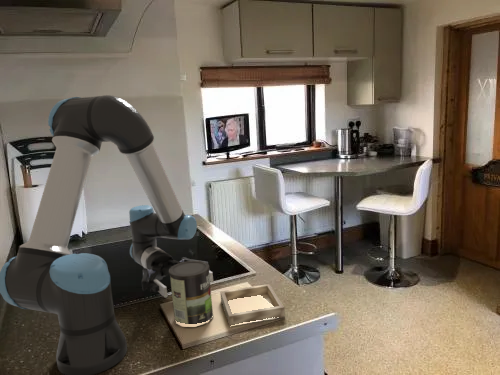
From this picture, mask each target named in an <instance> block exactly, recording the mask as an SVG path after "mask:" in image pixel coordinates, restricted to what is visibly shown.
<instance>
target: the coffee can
mask: <svg viewBox="0 0 500 375" xmlns="http://www.w3.org/2000/svg"><path fill="white" fill-rule="evenodd" d="M202 261H203V260H199V261H186V262H181V263H178V264H176V265H174V266H172V267H171V268H170V269H169V274H170V275H169V279H170V287H171V288H170V289H171V297H172V307H173V314H174V315H173V316H174V317H175V318H174V319H175V320H176V321H177V322H180V323H185V324H197V323H202V322H206V321H208V320H210V319H211V318H212V316H213V317H214V312H213V300H212V290H211V282H210V275H209V270H210V264H209V263H208V264H207V263H205V262H206V261H205V262H202ZM212 319H213V318H212Z"/></svg>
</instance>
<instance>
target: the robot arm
mask: <svg viewBox="0 0 500 375" xmlns="http://www.w3.org/2000/svg"><path fill="white" fill-rule="evenodd" d="M47 125H48V126H49V132H50V134H51V136H52V139H51V141H52V143H53V145H54V146H55V152H54V155H53V159H52V163H51V165H50V169H49V171H48V175H47V179H46V183H45V185H44V189H43V192H42V195H41V198H40V201H39V206H38V208H37V209H38V210H37V212H36V214H35V219H34V223H33V226H32V228H31V233H30V236H29V239H28V240H27V241H26V242H25V243H23V244H21V245H19V246H18V251H17V254H16V256H13V257H11V258H9V260H8V261H7V262H5V263H4V264H3V266H2V267H1V269H0V295H1V296H2V298H3V300H4V301H5V302H6V303H7V304H8V305H11V306H14V307H18V308H20V309H23V310H33V311H37V312H38V311H39V312H43V313H44V312H45V313H50V314H55V315H57V319H58V324H59V330H60V331H59V332H60V334H59V340H58V345H57V351H56V354H55V357H56V358H55V360H56V366H57V369H58V371H59V372H60V373H61V374H63V375H97V374H100V373H103V372H105V371H107V370H109V369H112V368H113V367H114V366H116V365H118V363H120V362H121V361H122V360H123V358H124V357H125V356H126V354H127V352H128V345H127V338H126V336H125V334H124V332H123V330H122V328H121V327H120V325H119V323H118V322H117V319H116V315H115V309H114V308H115V307H114V300H113V292H112V291H113V290H112V284H111V273H110V272H109V269H108V264H107V262H106V261H105V259H104V258H102V256H100V255H96V254H93V253H88V252H87V253H86V252H85V253H84V252H81V253H71V252H70V250H69V248H68V245H69V242H70V238H71V234H72V231H73V227H74V224H75V219H76V215H77V212H78V209H79V205H80V202H81V197H82V193H83V190H84V186H85V182H86V178H87V177H88V176H87V175H88V171H89V168H90V165H91V160H92V158H93V157H95V156H97V155H99V154H100V152H101V147H102V144H103V143H105V142H110V143H113V144H114V145H115V146H116V147H117V149H118V150H119V152H120V154H122V155H125V156H126V158H127V159H128V162H129V163H130V165H131V167H132V170H133V172H134V174H135V175H136V177H137V179H138V181H139V183H140V185H141V187H142V189H143V190H144V193H145V195H146V196H147V199H148V201H149V202H150V204H151V205H148V204H145V205H143V204H142V205H136V206H133V207H132V208H130V210H129V212H128V213H129V215H128V216H129V225H130V234H131V240H132V242H131V245H130V248H129V255H130V257H131V258H132V259H133V260H134V262H135V263H137V264H139V265H140V266H142V267H143V268H142V279H141V287H142V288H141V290H142V292H145V291H147V290H148V289H149V292H150V293H159V294H160V295H161V296H162V297H164V298H168V297H169V296H168V290H167V286H166V285H164V284H163V283H162V282H161V280H163V278H165V277H167V276H170V274H169V269H170V268H171V267H172V266H174V265H176V264H178V263H181V262H186V261H200V260H197V259H192V258H191V259H190V258H187V257H186V256H185V257H184V256H183V257H181V260H179V261H178V260H175V259H174V258H173V256H172V255H171V254H169V253H167V252H166V251H164V250H163V249H161V248H160V247H158V246H157V245H158V244H157V238H159V239H160V238H162V239H170V240H171V239H172V240H192V238H193V237H195V234H196V232H197V228H198V226H197V225H198V224H197V220H196V217H194V216H193V215H191V214H189V213H187V214H185V213H184V210H183V209H182V206H181V203H180V201H179V199H178V197H177V195H176V193H175V190H174V188H173V186H172V184H171V182H170V180H169V177H168V175H167V173H166V170H165V168H164V166H163V164H162V161H161V159H160V157H159V155H158V152H157V151H156V149H155V146H154V144H153V143H154V141H155V136H154V134H153V132H152V130H151V127H150V125H149V124H148V122H147V120H145V118H144V117H143V116H142V114H141V113H140V112H139V111H138V110H137V109H136V108H135V107H134V105H132V104H131V103H129V102H128V101H126V100H125V99H123V98H121V97H119V96H114V95H111V94H109V95H107V94H106V95H97V96H85V97H84V96H83V97H81V96H74V97H69V98H65V99H61V100H59V101H58V102H56V103H55V104H54V105H53V107H52V108H51V109H50V112H49V115H48V119H47ZM201 261H202V262H205V263H207V264H208V265H209V262H208V261H205V260H201ZM213 273H214V272H213V271H211V270H210V269H209V275H210V283H213V282H214V276H213Z"/></svg>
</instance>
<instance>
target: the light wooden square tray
mask: <svg viewBox="0 0 500 375" xmlns="http://www.w3.org/2000/svg"><path fill="white" fill-rule="evenodd" d="M219 295H220V302H221V305H222V304H223V305H222V308H223V307H224V308H223V310H225V311H224V314H225V313H226V314H225V317H226V316H227V317H226V320H227V319H228V320H227V323H228V322H229V323H228V325H230V326H231V325H235V324H239V323H243V322H250V321H256V320H263V319H266V318H267V319H268V318H272V317H273V318H274V317H275V318H277V317H279V318H281V319H285V318H286V316H285V315H286V312H285V306H284V305H283V303H282V301H281V300H280V298H279V296H278V294H276V292H275V290H274V288H273V287H272V285H271V284H270V283H267V284H266V283H265V284H262V285H261V284H260V285H254V286H248V287H247V286H246V287H240V288H236V289H235V288H233V289H230V290H223V291H220V294H219ZM257 295H261V296H263V298H265V299H266V300H267V301H268V302H269V303H271V304H272V305H273V306H274V307H270V308H264V309H258V310H252V311H246V312H240V313H234V314H232V312H231V309H230V306H229V304H228V301H229V300H233V299H237V298H244V297H251V296H257ZM230 326H229V327H230Z"/></svg>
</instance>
